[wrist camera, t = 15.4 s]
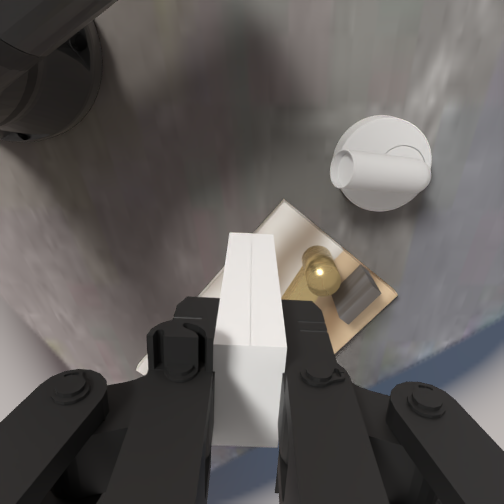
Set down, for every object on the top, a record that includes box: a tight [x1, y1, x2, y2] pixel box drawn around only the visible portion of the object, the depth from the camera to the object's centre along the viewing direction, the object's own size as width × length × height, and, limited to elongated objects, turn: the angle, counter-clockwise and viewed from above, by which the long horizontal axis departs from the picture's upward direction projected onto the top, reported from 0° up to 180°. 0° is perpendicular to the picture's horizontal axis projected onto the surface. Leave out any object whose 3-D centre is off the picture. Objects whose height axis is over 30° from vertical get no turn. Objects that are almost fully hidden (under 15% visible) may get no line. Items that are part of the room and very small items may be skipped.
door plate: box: [136, 199, 398, 376], centre depth 46 cm, size 16×26×6 cm, turn 140°
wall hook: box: [330, 115, 432, 212], centre depth 38 cm, size 9×10×10 cm
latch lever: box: [281, 245, 341, 302], centre depth 43 cm, size 15×4×5 cm, turn 151°
